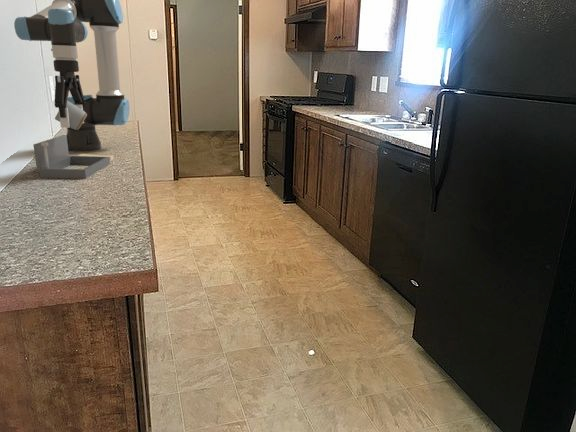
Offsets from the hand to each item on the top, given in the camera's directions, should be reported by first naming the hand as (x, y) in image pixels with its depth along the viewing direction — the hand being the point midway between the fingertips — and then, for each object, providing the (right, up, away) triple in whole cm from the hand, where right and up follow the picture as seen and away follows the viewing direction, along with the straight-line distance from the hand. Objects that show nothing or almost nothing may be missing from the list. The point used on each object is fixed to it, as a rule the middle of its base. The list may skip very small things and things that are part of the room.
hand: (72, 125), depth 164 cm
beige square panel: (-3, -9, +23) cm, 25 cm away
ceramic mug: (0, -1, +1) cm, 2 cm away
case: (0, -15, +4) cm, 16 cm away
